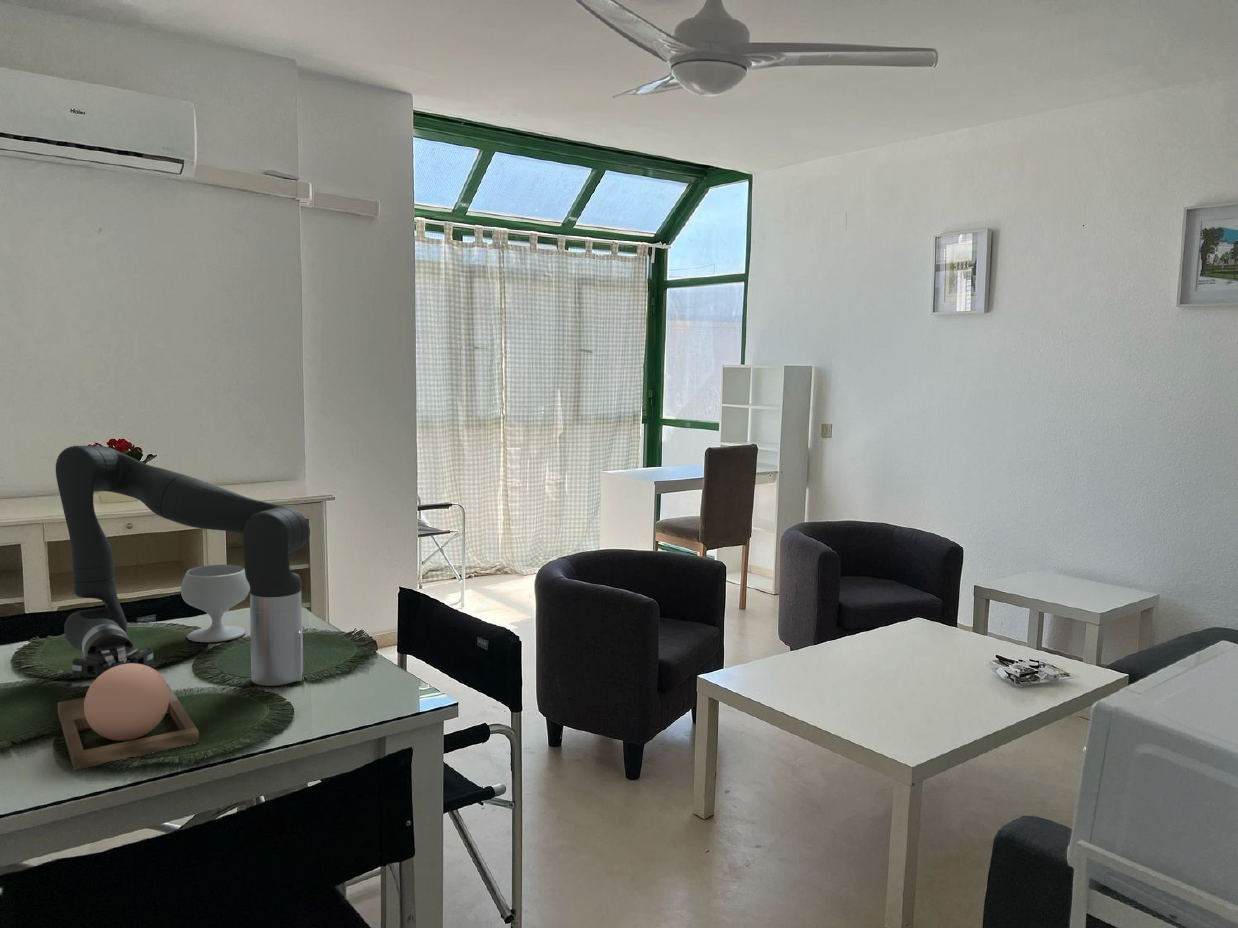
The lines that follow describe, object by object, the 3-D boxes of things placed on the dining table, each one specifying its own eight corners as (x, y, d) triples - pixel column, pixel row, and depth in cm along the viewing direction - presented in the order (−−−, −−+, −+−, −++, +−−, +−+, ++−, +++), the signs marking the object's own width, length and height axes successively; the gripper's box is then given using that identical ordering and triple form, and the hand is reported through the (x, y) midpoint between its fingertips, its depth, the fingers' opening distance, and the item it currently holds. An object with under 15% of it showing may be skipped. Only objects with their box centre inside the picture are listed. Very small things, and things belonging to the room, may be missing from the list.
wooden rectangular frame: (167, 693, 159) (167, 683, 159) (199, 743, 138) (198, 731, 138) (58, 713, 149) (57, 702, 149) (73, 770, 128) (73, 757, 128)
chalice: (212, 624, 203) (211, 561, 202) (264, 630, 199) (263, 566, 198) (167, 641, 190) (165, 574, 188) (221, 648, 186) (219, 579, 185)
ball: (177, 649, 145) (188, 714, 139) (144, 687, 149) (153, 751, 143) (100, 648, 136) (108, 717, 129) (67, 688, 140) (74, 757, 134)
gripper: (63, 633, 155) (74, 660, 141) (147, 622, 163) (164, 646, 149) (65, 674, 156) (75, 704, 142) (148, 661, 164) (165, 689, 150)
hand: (121, 675), depth 146 cm, fingers closed
